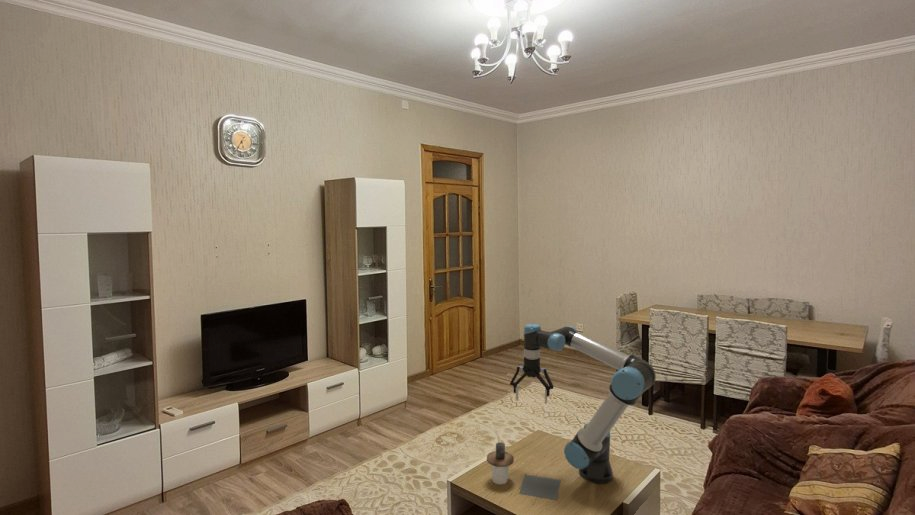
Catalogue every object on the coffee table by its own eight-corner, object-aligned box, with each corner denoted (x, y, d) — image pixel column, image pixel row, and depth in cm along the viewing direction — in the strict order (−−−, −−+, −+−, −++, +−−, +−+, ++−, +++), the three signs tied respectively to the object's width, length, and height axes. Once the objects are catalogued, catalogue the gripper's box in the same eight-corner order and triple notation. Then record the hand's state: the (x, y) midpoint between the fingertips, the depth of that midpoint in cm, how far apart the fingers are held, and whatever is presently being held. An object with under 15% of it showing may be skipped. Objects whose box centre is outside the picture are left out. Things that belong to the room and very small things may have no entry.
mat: (560, 481, 221) (560, 480, 221) (557, 501, 206) (557, 500, 206) (525, 475, 226) (525, 474, 226) (519, 494, 210) (519, 493, 210)
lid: (515, 455, 224) (516, 440, 223) (511, 468, 213) (511, 452, 212) (490, 451, 227) (490, 436, 227) (484, 464, 216) (484, 448, 215)
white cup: (488, 483, 219) (488, 461, 218) (495, 474, 226) (495, 454, 225) (504, 487, 216) (505, 466, 215) (511, 479, 223) (511, 458, 222)
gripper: (559, 357, 230) (558, 401, 232) (507, 352, 237) (506, 395, 239) (558, 361, 223) (557, 407, 225) (504, 357, 230) (503, 401, 232)
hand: (531, 401), depth 232 cm, fingers open, 13 cm apart
